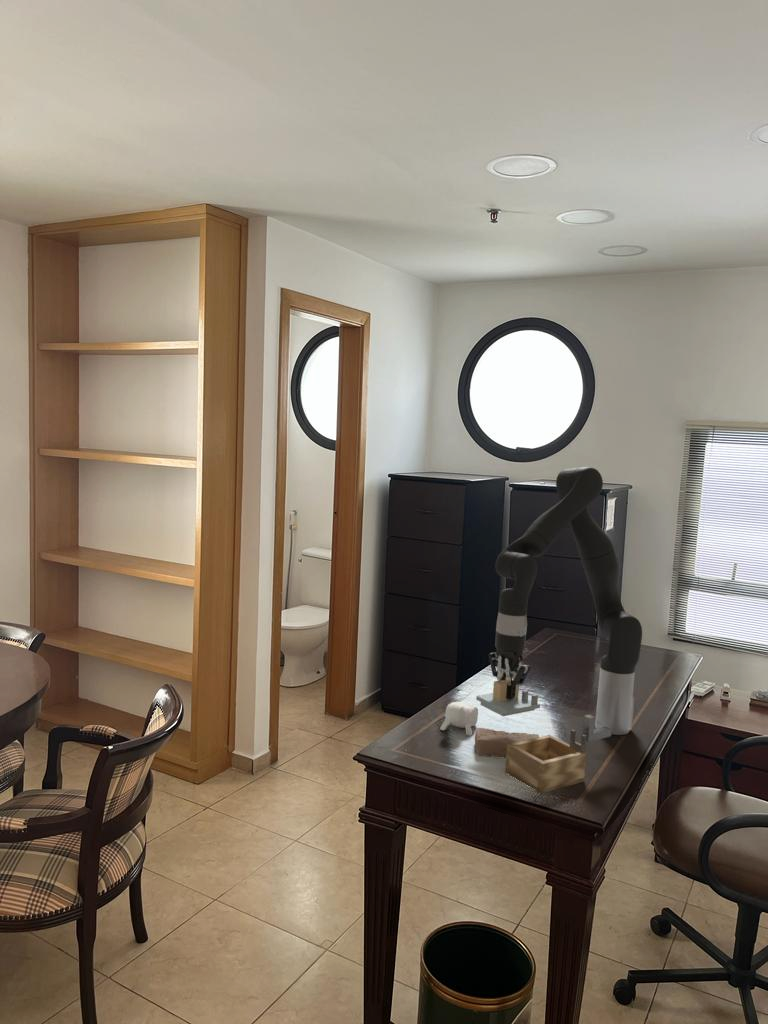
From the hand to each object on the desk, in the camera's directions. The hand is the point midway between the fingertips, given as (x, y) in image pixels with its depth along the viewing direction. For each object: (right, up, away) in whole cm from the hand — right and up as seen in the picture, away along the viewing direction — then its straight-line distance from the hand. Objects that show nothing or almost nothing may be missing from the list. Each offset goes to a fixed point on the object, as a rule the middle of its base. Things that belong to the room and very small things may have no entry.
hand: (506, 696), depth 199 cm
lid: (0, -2, -1) cm, 2 cm away
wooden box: (+7, -16, -14) cm, 22 cm away
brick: (0, -15, 0) cm, 15 cm away
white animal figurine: (-11, -12, +13) cm, 21 cm away
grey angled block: (+20, -7, -11) cm, 24 cm away
